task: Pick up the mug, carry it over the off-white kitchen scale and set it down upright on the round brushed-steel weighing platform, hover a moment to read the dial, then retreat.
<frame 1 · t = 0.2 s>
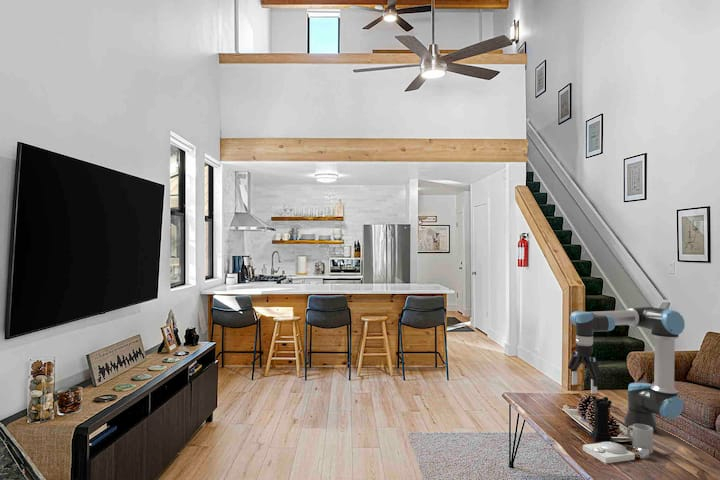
hand: (584, 388, 228), 28 cm above the table, fingers open, 13 cm apart
chess piece: (601, 439, 237), on the table
mug: (639, 449, 226), on the table
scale: (608, 454, 219), on the table
spacer: (643, 457, 217), on the table
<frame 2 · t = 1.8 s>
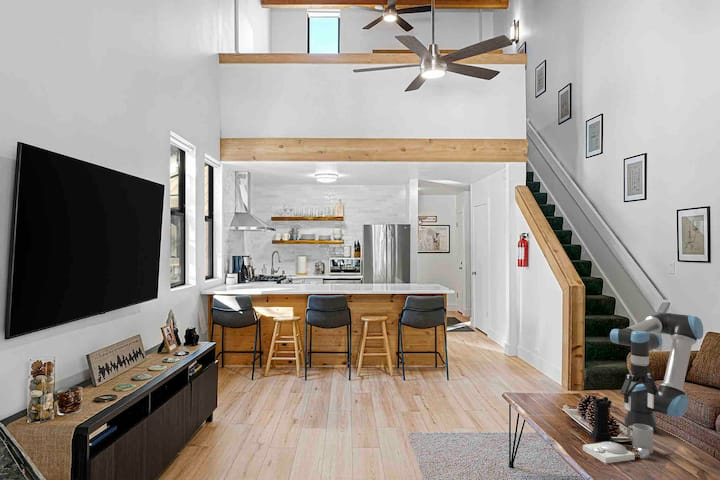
hand: (639, 408, 227), 19 cm above the table, fingers open, 13 cm apart
nothing on the table moved.
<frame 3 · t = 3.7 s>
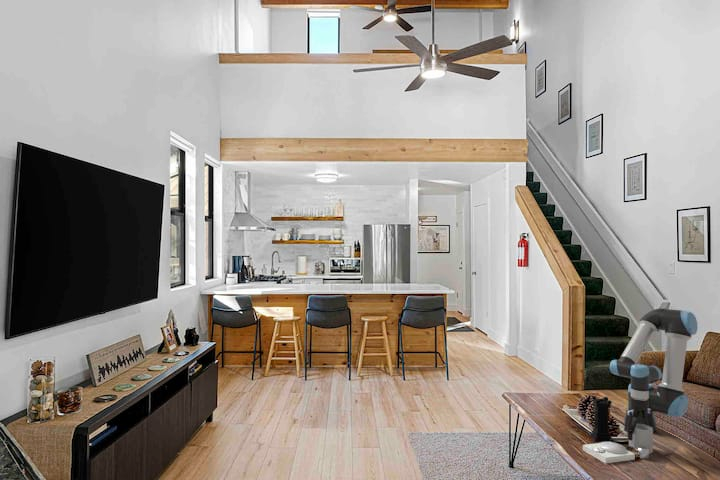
hand: (639, 445, 226), 1 cm above the table, fingers closed on mug, 8 cm apart
mug: (638, 449, 226), on the table, touching gripper
everything else where it was.
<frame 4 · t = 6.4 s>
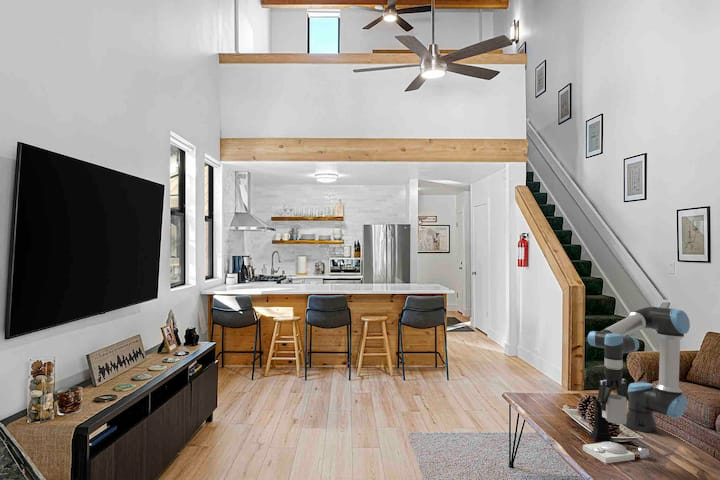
hand: (612, 416, 220), 17 cm above the table, fingers closed on mug, 8 cm apart
mug: (612, 420, 220), point 16 cm above the table, touching gripper
everything else where it was.
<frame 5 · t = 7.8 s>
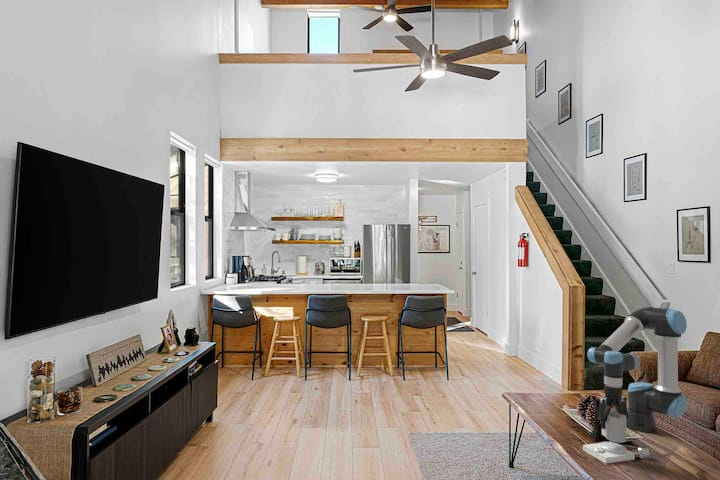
hand: (612, 434, 220), 9 cm above the table, fingers closed on mug, 8 cm apart
mug: (612, 438, 220), point 8 cm above the table, touching gripper
everything else where it was.
when the fingers open (6 cm above the table, at t = 8.9 s): mug stays where it is, resting on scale.
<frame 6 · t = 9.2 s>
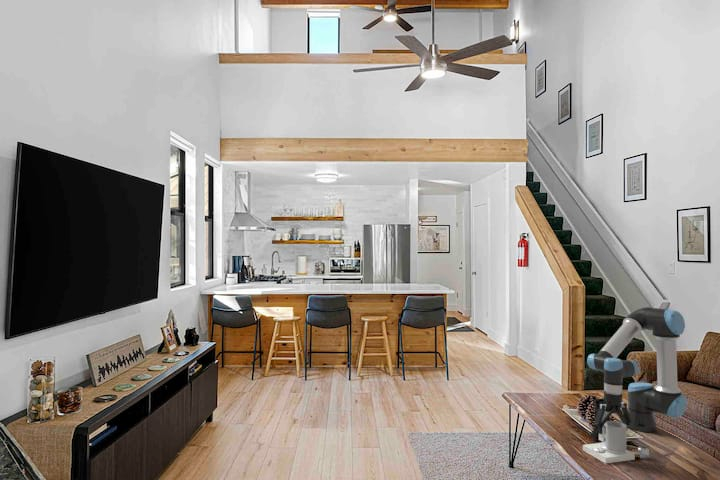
hand: (612, 439, 220), 7 cm above the table, fingers open, 12 cm apart
mug: (612, 447, 220), point 3 cm above the table, touching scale
everything else where it was.
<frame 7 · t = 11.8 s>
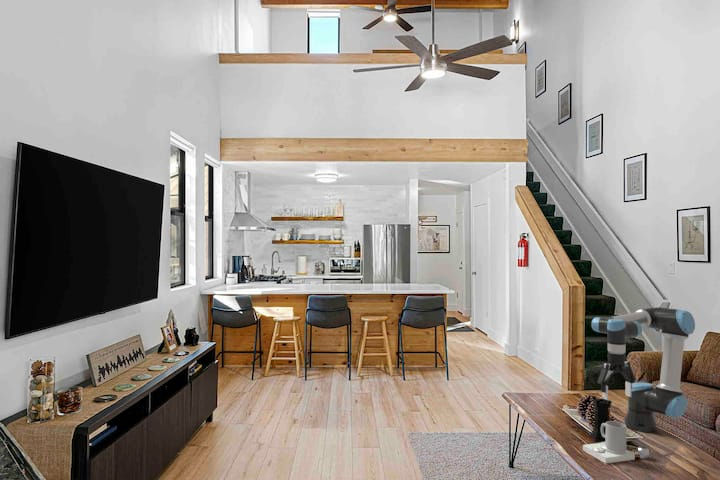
hand: (616, 397, 223), 25 cm above the table, fingers open, 13 cm apart
nothing on the table moved.
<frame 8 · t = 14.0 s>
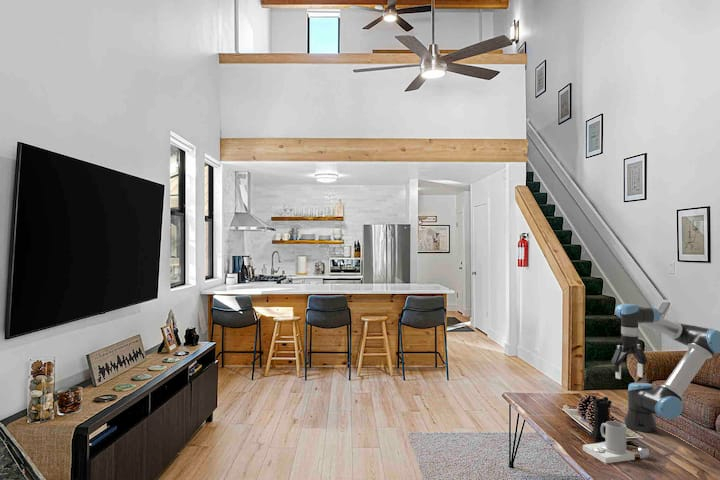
hand: (629, 377, 237), 31 cm above the table, fingers open, 13 cm apart
nothing on the table moved.
at the end: mug inside the target area on the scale (0.2 cm from its centre), point 3.3 cm above the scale's base; mug tilted 0°; the gripper is holding nothing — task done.
